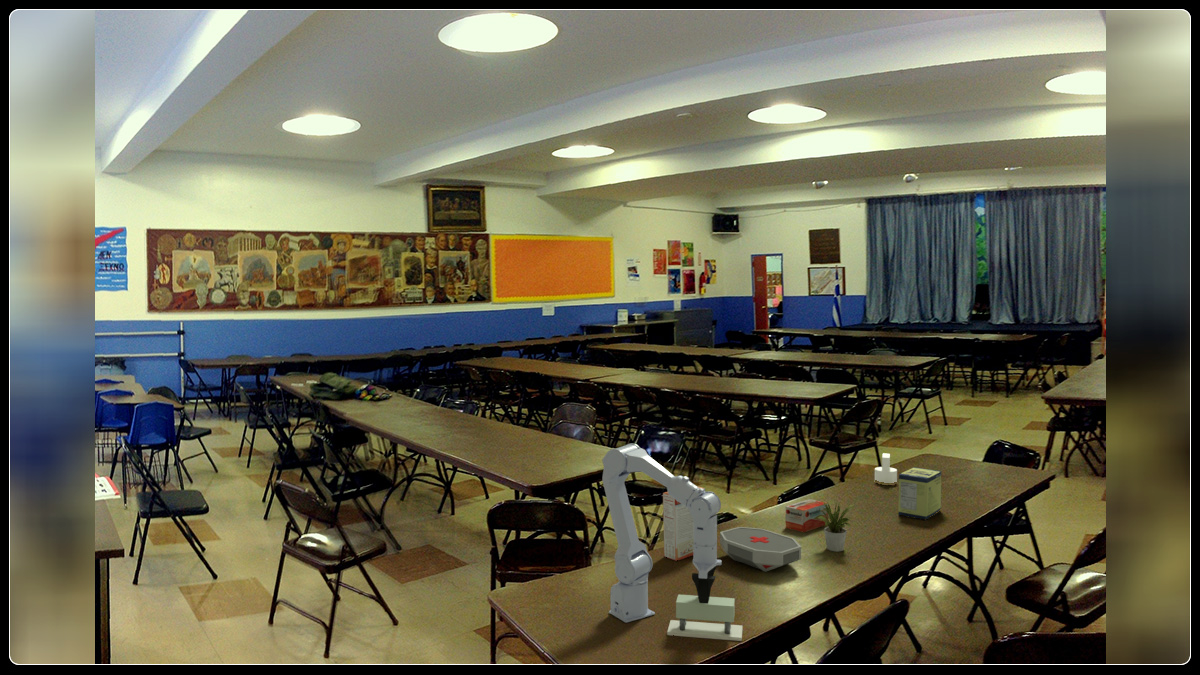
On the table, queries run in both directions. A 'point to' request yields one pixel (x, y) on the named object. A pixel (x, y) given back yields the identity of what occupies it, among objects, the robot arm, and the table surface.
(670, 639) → the table surface
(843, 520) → the house plant
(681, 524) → the cracker box
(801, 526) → the medicine box
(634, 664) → the table surface
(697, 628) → the peg stand
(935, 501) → the protein box
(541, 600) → the table surface
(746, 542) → the first aid kit
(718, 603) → the pale green block
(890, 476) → the cylinder with rectangular tab
